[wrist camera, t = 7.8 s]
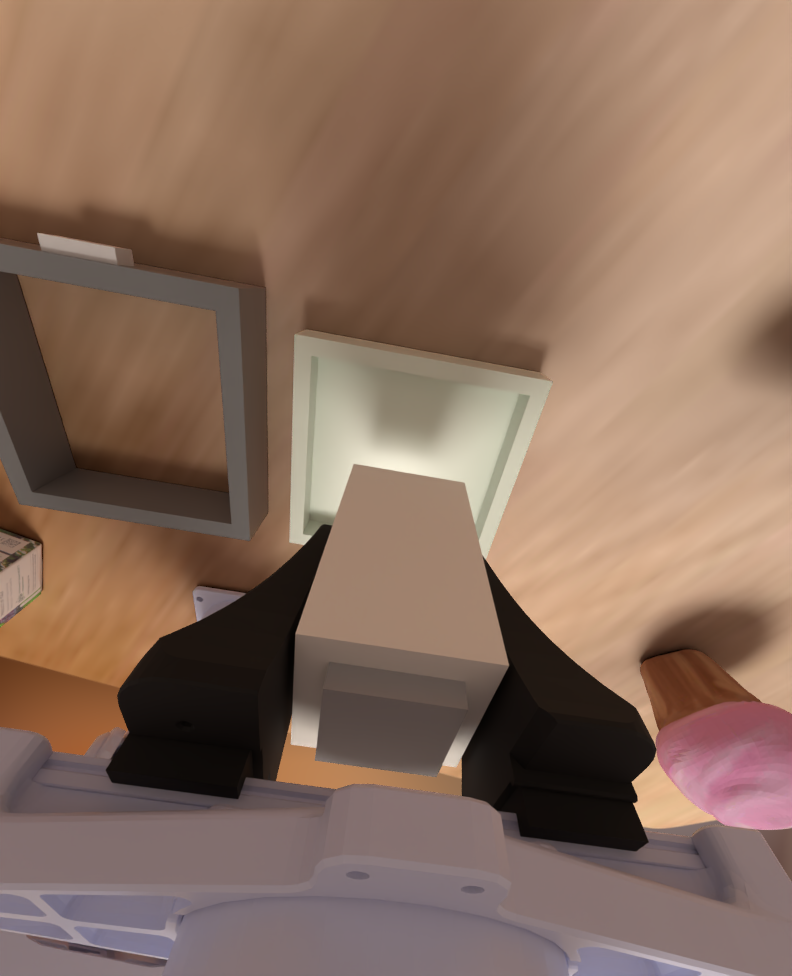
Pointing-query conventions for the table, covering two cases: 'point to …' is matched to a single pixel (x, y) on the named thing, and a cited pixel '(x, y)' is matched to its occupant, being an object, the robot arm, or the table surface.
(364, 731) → the module block
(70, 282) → the gray rectangular frame
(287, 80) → the table surface
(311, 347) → the tray
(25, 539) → the syrup box
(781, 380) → the table surface
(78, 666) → the table surface
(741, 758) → the cupcake
